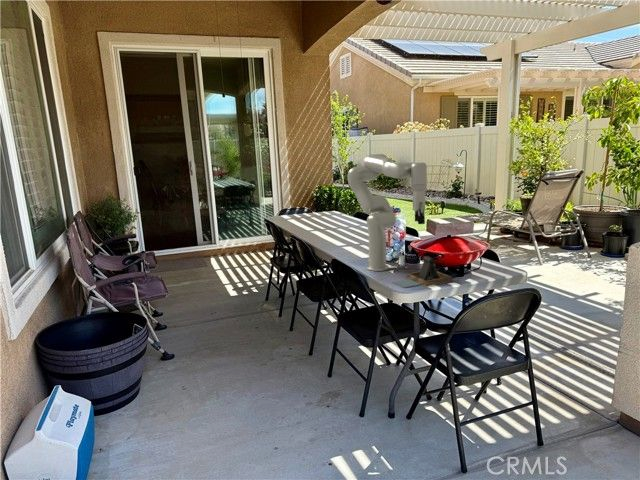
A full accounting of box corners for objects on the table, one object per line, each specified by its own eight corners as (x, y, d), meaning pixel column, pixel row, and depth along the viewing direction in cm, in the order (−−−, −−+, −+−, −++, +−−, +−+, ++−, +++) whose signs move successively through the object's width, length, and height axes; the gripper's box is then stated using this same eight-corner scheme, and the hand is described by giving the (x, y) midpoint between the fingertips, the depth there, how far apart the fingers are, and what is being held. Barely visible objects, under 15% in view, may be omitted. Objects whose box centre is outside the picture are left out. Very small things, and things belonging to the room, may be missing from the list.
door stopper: (423, 282, 222) (423, 259, 220) (418, 279, 228) (418, 256, 225) (439, 280, 224) (440, 257, 222) (433, 277, 230) (434, 255, 228)
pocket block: (406, 278, 230) (406, 273, 230) (431, 273, 236) (431, 269, 236) (425, 286, 216) (425, 281, 215) (451, 281, 222) (451, 276, 222)
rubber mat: (392, 282, 223) (392, 281, 223) (409, 279, 227) (409, 278, 227) (404, 288, 214) (404, 287, 214) (421, 285, 218) (421, 284, 218)
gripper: (408, 187, 226) (409, 220, 229) (414, 189, 209) (414, 225, 212) (423, 186, 226) (424, 219, 229) (430, 188, 209) (430, 224, 212)
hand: (419, 222), depth 220 cm, fingers open, 9 cm apart
